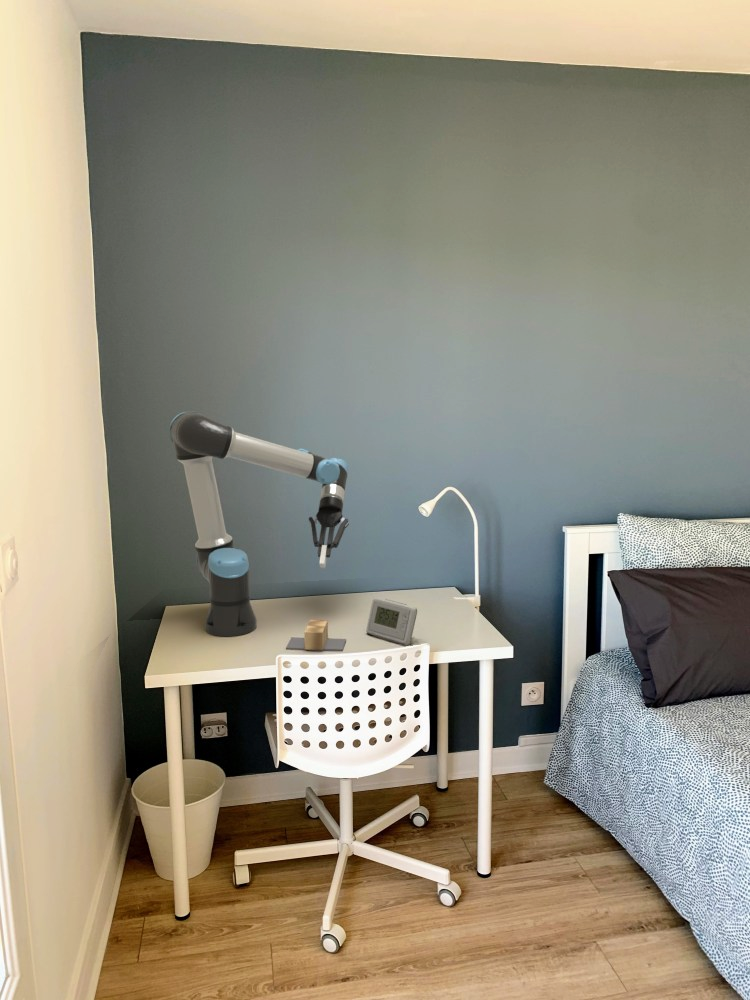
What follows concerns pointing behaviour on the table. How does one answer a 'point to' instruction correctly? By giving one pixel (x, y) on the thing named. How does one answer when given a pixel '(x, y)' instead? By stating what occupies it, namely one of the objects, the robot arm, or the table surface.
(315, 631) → the oak block
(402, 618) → the digital clock
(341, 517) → the robot arm
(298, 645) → the mat
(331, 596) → the table surface
